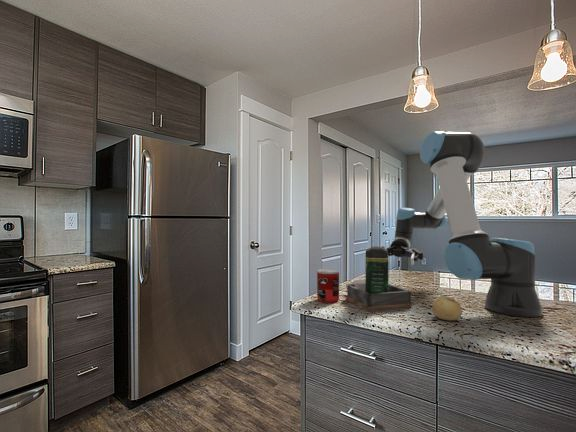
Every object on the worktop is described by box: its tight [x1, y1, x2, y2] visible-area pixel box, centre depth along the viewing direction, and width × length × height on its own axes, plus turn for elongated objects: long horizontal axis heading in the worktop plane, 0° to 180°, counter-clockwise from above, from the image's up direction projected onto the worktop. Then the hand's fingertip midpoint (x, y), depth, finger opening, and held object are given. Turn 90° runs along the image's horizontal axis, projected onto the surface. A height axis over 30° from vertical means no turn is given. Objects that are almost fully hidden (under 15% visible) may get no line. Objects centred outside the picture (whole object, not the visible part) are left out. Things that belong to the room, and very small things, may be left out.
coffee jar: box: [364, 245, 390, 294], centre depth 109 cm, size 10×8×19 cm
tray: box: [345, 283, 412, 313], centre depth 108 cm, size 16×16×6 cm
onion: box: [431, 296, 463, 321], centre depth 92 cm, size 8×8×7 cm
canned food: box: [316, 268, 340, 304], centre depth 113 cm, size 8×8×11 cm
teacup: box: [345, 278, 366, 291], centre depth 121 cm, size 10×8×5 cm
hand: (392, 260), depth 116 cm, fingers open, 13 cm apart
